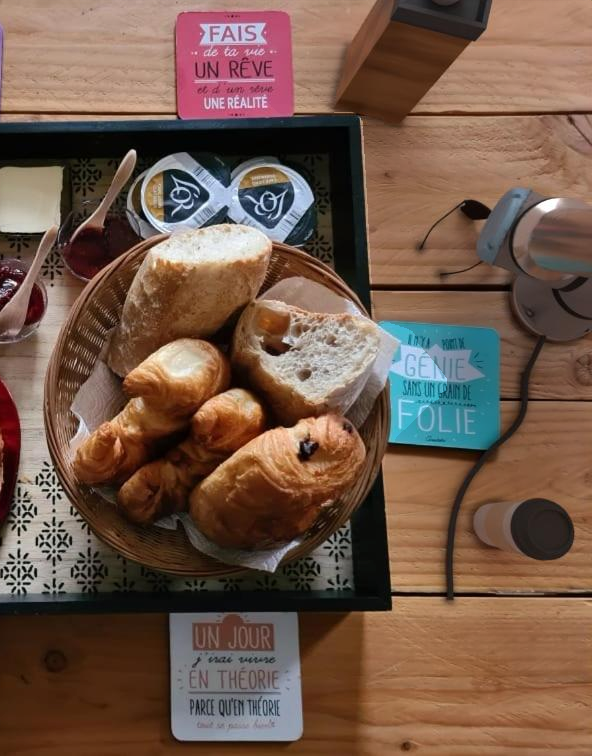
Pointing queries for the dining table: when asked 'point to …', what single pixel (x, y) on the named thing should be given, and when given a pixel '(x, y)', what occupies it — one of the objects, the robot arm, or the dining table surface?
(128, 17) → the dining table surface
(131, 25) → the dining table surface
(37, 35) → the dining table surface
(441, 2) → the cup
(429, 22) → the tray
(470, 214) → the sunglasses
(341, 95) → the stand
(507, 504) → the coffee cup
